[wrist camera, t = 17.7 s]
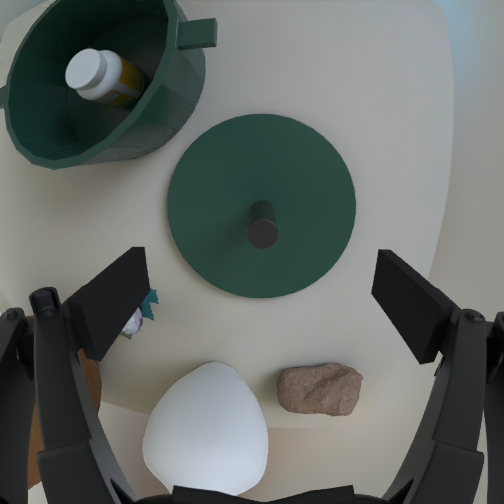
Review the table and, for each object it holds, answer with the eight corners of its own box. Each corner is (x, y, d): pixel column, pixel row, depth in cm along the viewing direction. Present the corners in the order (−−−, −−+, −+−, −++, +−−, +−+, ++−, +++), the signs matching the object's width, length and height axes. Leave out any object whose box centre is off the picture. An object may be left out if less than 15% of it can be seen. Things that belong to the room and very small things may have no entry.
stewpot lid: (168, 119, 28) (128, 106, 18) (355, 121, 27) (396, 109, 17) (178, 291, 35) (152, 338, 25) (342, 293, 34) (368, 341, 24)
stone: (358, 354, 40) (368, 367, 30) (359, 406, 38) (367, 431, 29) (281, 361, 43) (270, 376, 33) (284, 412, 41) (274, 437, 31)
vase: (283, 385, 40) (293, 558, 13) (206, 409, 42) (180, 555, 16) (235, 319, 36) (205, 544, 9) (153, 352, 38) (83, 517, 12)
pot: (42, 256, 34) (-98, 365, 5) (149, 365, 39) (81, 533, 11) (11, 326, 39) (-69, 413, 11) (91, 405, 45) (38, 512, 17)
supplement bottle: (127, 115, 27) (81, 106, 18) (99, 95, 26) (51, 83, 17) (155, 78, 25) (117, 53, 16) (125, 59, 24) (83, 35, 15)
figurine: (199, 333, 35) (171, 370, 28) (152, 338, 38) (123, 368, 32) (158, 249, 32) (117, 275, 25) (114, 266, 36) (76, 290, 29)
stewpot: (58, 44, 23) (7, 26, 12) (231, 2, 22) (219, -54, 11) (50, 172, 30) (-10, 185, 19) (229, 153, 29) (211, 151, 18)
